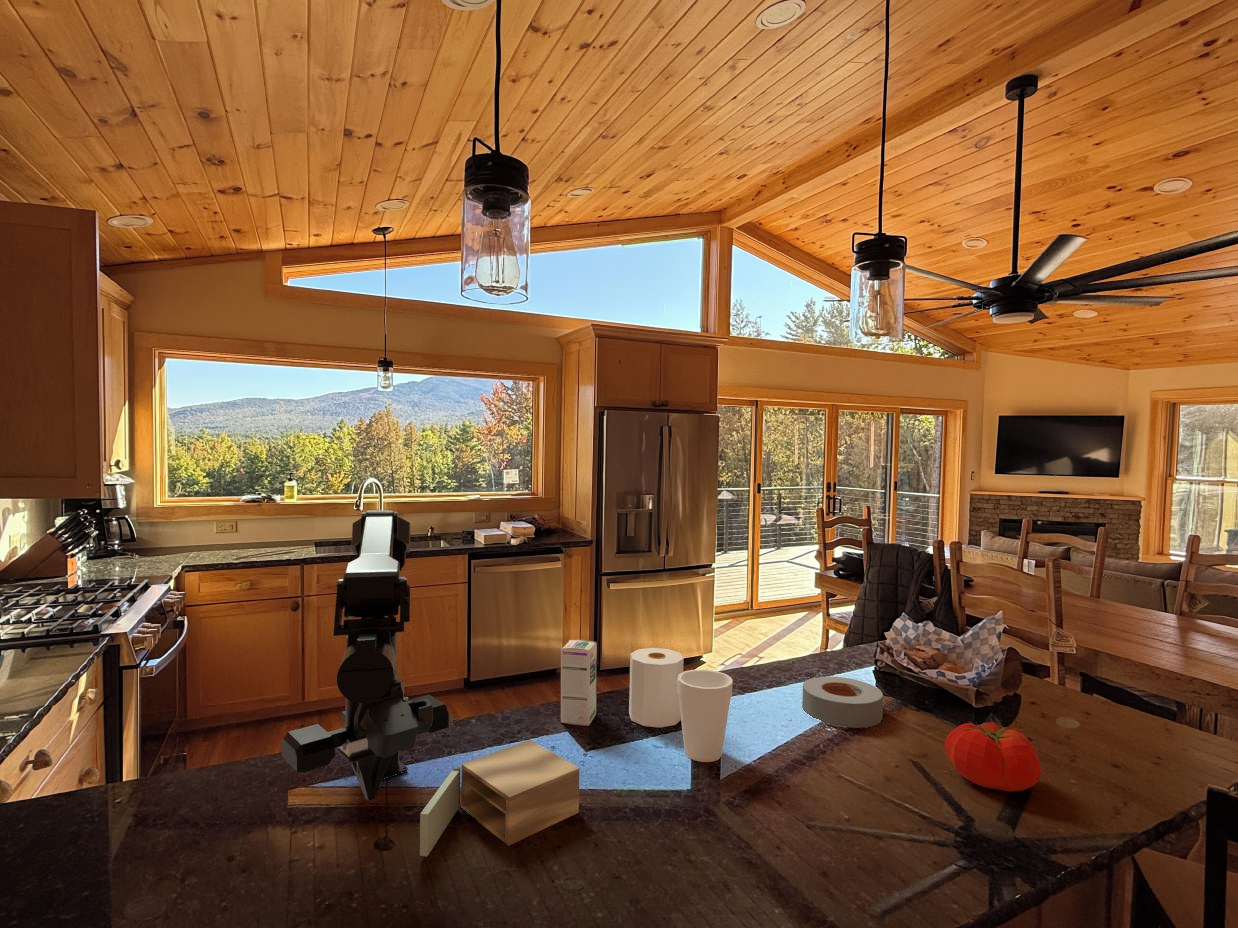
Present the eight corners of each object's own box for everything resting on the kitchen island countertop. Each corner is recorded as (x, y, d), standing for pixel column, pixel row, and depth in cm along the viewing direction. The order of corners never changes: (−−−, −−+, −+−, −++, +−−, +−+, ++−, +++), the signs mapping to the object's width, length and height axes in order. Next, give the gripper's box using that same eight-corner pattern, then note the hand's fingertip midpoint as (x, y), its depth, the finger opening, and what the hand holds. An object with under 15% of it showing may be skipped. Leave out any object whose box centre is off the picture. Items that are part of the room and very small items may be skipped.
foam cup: (668, 759, 113) (670, 683, 113) (684, 737, 122) (686, 666, 122) (723, 770, 110) (726, 692, 109) (736, 747, 118) (738, 674, 118)
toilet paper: (618, 718, 130) (620, 656, 129) (647, 702, 138) (649, 643, 138) (663, 732, 124) (665, 667, 123) (691, 714, 132) (692, 653, 132)
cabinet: (461, 808, 97) (461, 763, 97) (529, 780, 105) (529, 739, 105) (508, 845, 88) (509, 796, 88) (578, 812, 97) (579, 767, 96)
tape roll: (790, 699, 142) (791, 675, 142) (860, 698, 143) (860, 674, 143) (820, 731, 127) (821, 704, 126) (897, 728, 128) (898, 702, 128)
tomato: (1051, 782, 108) (1053, 728, 108) (1033, 813, 99) (1035, 754, 99) (958, 754, 118) (960, 704, 118) (934, 779, 109) (936, 725, 108)
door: (453, 804, 97) (454, 766, 97) (460, 805, 97) (461, 766, 97) (419, 856, 85) (419, 812, 85) (427, 856, 85) (427, 813, 85)
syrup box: (589, 726, 126) (591, 649, 125) (559, 723, 127) (560, 647, 126) (596, 714, 131) (598, 640, 131) (567, 711, 133) (568, 638, 132)
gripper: (315, 712, 69) (314, 861, 70) (474, 672, 82) (472, 798, 82) (280, 682, 77) (279, 816, 78) (429, 650, 90) (428, 765, 90)
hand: (370, 798), depth 82 cm, fingers closed
